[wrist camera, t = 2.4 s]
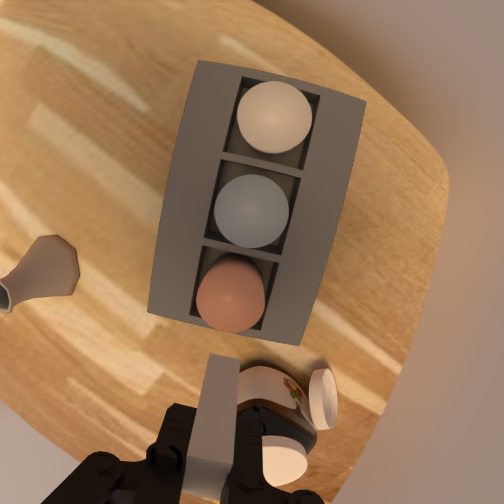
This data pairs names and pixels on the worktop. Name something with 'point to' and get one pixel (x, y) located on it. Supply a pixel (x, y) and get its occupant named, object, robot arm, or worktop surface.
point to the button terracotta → (231, 295)
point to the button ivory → (273, 117)
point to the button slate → (251, 211)
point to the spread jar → (287, 416)
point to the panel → (252, 162)
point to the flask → (40, 273)
